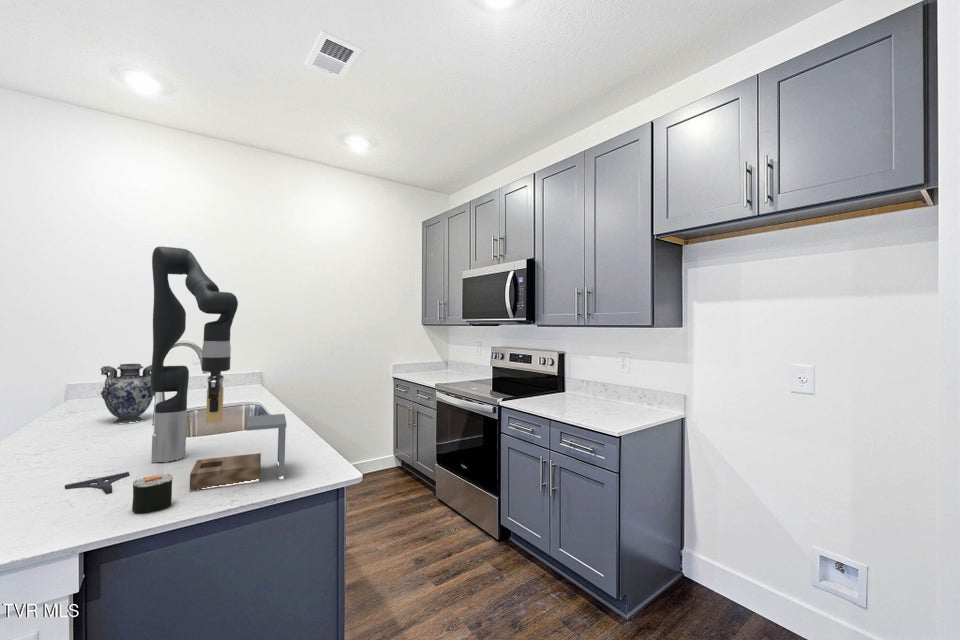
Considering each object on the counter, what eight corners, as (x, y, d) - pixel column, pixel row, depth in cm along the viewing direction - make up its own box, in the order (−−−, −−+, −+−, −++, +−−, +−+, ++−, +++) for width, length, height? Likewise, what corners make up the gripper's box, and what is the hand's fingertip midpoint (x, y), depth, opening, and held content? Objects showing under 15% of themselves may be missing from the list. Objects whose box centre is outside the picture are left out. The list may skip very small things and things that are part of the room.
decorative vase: (155, 415, 215) (157, 361, 215) (157, 422, 200) (158, 365, 200) (100, 420, 201) (101, 363, 201) (97, 429, 187) (99, 367, 187)
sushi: (175, 506, 110) (176, 476, 110) (134, 517, 103) (136, 485, 103) (168, 497, 115) (169, 469, 115) (129, 507, 109) (130, 476, 109)
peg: (221, 421, 128) (222, 389, 128) (205, 422, 126) (207, 389, 126) (222, 418, 131) (223, 387, 131) (207, 419, 129) (208, 387, 129)
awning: (244, 485, 125) (246, 426, 125) (247, 468, 139) (248, 416, 140) (284, 479, 130) (286, 423, 130) (283, 464, 144) (284, 413, 145)
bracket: (73, 504, 111) (74, 494, 111) (64, 490, 120) (64, 480, 120) (141, 489, 122) (141, 479, 123) (127, 476, 132) (128, 468, 132)
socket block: (189, 491, 119) (190, 474, 120) (196, 475, 132) (197, 459, 132) (259, 481, 128) (260, 465, 128) (260, 467, 140) (260, 453, 140)
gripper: (228, 357, 124) (226, 414, 124) (232, 353, 137) (230, 405, 136) (198, 357, 121) (196, 416, 120) (205, 353, 133) (203, 406, 133)
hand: (214, 410), depth 128 cm, fingers closed on peg, 4 cm apart
